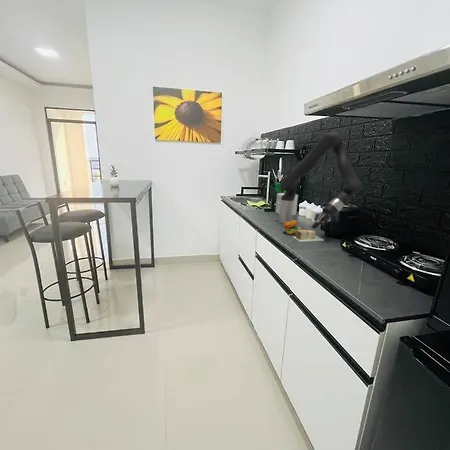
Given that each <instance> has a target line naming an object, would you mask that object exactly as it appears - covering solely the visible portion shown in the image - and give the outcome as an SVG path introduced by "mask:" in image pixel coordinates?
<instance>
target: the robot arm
mask: <svg viewBox="0 0 450 450" xmlns="http://www.w3.org/2000/svg"><path fill="white" fill-rule="evenodd" d="M344 145H345V144H344V142H343V137H342V135H341V134H340V133H339V132H337V131H332V132H330V131H329V132H327V133H324V135H323V136H322V137H320V139H319V141H317V144H316V145H315V146H314V147H313V149H312V150H310V151H309V152H308V153H307V154H306V155H305V156H304V157H303V159H302V160H301V161H299V162H298V164H297V165H296V166H295V167H294V168H293V169H292V170H291V171H290V172H289V173H288V174H286V176H284V177H283V178H282V179H281V181H280V182H279V188H280V190H282V191H284V193H285V194H284V195H282V197H281V208H280V210H279V214H278V222H279V223H280V224H284V223H285V222H287V221H292V220H293V216H294V215H293V205H294V198H295V196H296V195H297V188H298V181H297V180H299V179H301V178H302V177H304V176H306V175H308V174H309V173H310V172H312V170H313V169H314V168H315V167H316V166H317V165H318V164H319V162H320V159H321V158H322V157H323V155H325V153H327V152H328V151H330V150H332V151H333V153H334V155H335V158H336V159H335V160H336V166H337V170H338V172H339V175H340V177H341V180H343V181H345V182H346V183H347V185H345V187H343V188H342V190H341V191H340V192H339V193H338V194H337V195H336V196H335V197H334V198H333V199H332V200H331V201H330V202H329V203H328V204H327V205H325V206H324V207H323V209H322V210H323V211H322V212H320V213H316V214H315V217H314V223H313V224H312V225H311V228H312V229H313V230H316V229H317V228H318V227H319V226H324V225H326V224H329V223H331V222H332V219H331V218H334V217H335V216H336V215H337V214H338V213H339V212H340V211H341V210H342V209H343V208H344V207H345V206H346V205H347V204H348V203H349V201H350V200H351V198H352V197H353V196H354V195H355V194H358V193H360V192H361V191H362V189H363V185H362V181H361V180H360V179H359V177H358V176H357V175H356V174H355V172H354V169H353V167H352V166H351V163H350V161H349V158H348V155H347V152H346V149H345V146H344Z"/></svg>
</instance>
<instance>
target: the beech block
mask: <svg viewBox="0 0 450 450" xmlns="http://www.w3.org/2000/svg"><path fill="white" fill-rule="evenodd" d="M315 235H316V231H315V230H314V229H313V230H312V229H301V230H296V235H295V236H296V238H297V239H299V240H306V239H315Z"/></svg>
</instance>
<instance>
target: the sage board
mask: <svg viewBox="0 0 450 450" xmlns="http://www.w3.org/2000/svg"><path fill="white" fill-rule="evenodd" d="M292 238H293V239H295V240H296V241H298V242H299V243H310V242H312V243H313V242H325V239H324V238H323V237H320V236H318V235H316V234H315V239H306V240H299V239H297V238H296V235H292Z"/></svg>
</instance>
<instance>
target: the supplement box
mask: <svg viewBox="0 0 450 450" xmlns="http://www.w3.org/2000/svg"><path fill="white" fill-rule="evenodd" d="M285 193H286V192H282V193H281V192H278V193H276V201H275V202H276V204H275V205H276V206H275V213H276V214H278V215H279V210H280V208H281V197H282V195H284V194H285ZM298 198H299V194H296V196H295V198H294V205H293V216H296V215H297V209H298Z"/></svg>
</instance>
